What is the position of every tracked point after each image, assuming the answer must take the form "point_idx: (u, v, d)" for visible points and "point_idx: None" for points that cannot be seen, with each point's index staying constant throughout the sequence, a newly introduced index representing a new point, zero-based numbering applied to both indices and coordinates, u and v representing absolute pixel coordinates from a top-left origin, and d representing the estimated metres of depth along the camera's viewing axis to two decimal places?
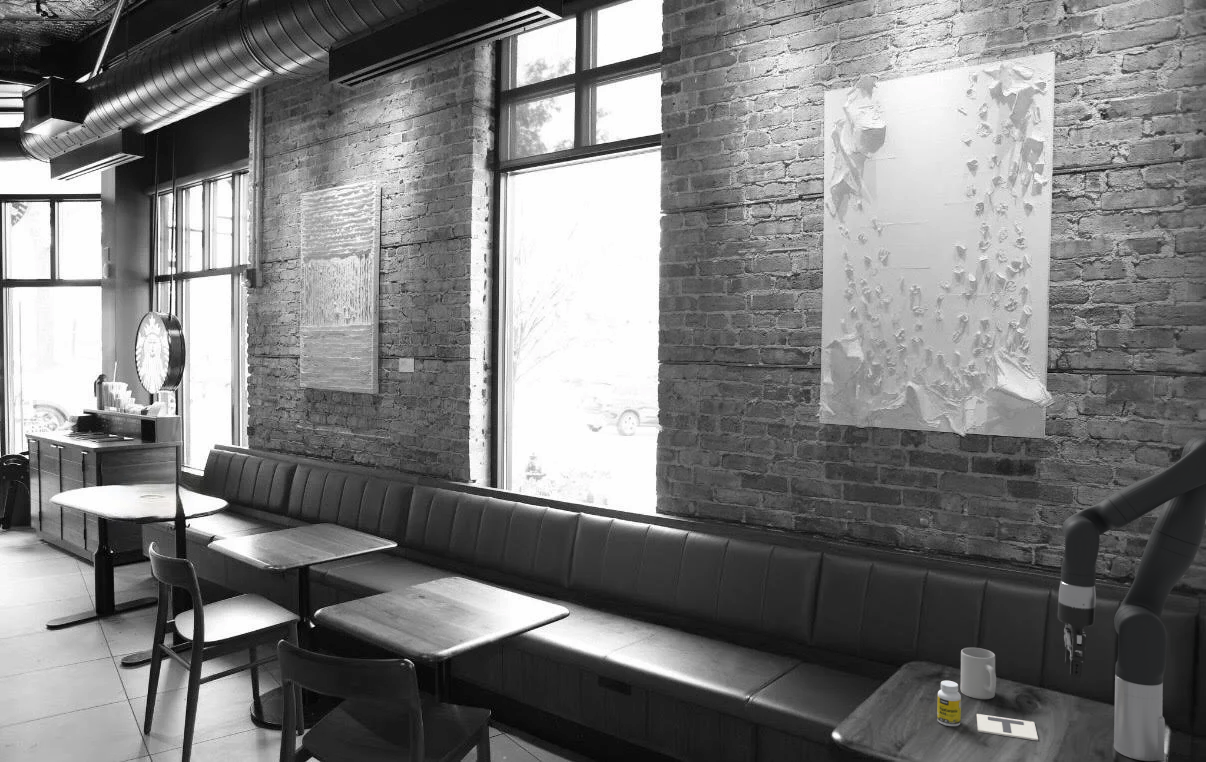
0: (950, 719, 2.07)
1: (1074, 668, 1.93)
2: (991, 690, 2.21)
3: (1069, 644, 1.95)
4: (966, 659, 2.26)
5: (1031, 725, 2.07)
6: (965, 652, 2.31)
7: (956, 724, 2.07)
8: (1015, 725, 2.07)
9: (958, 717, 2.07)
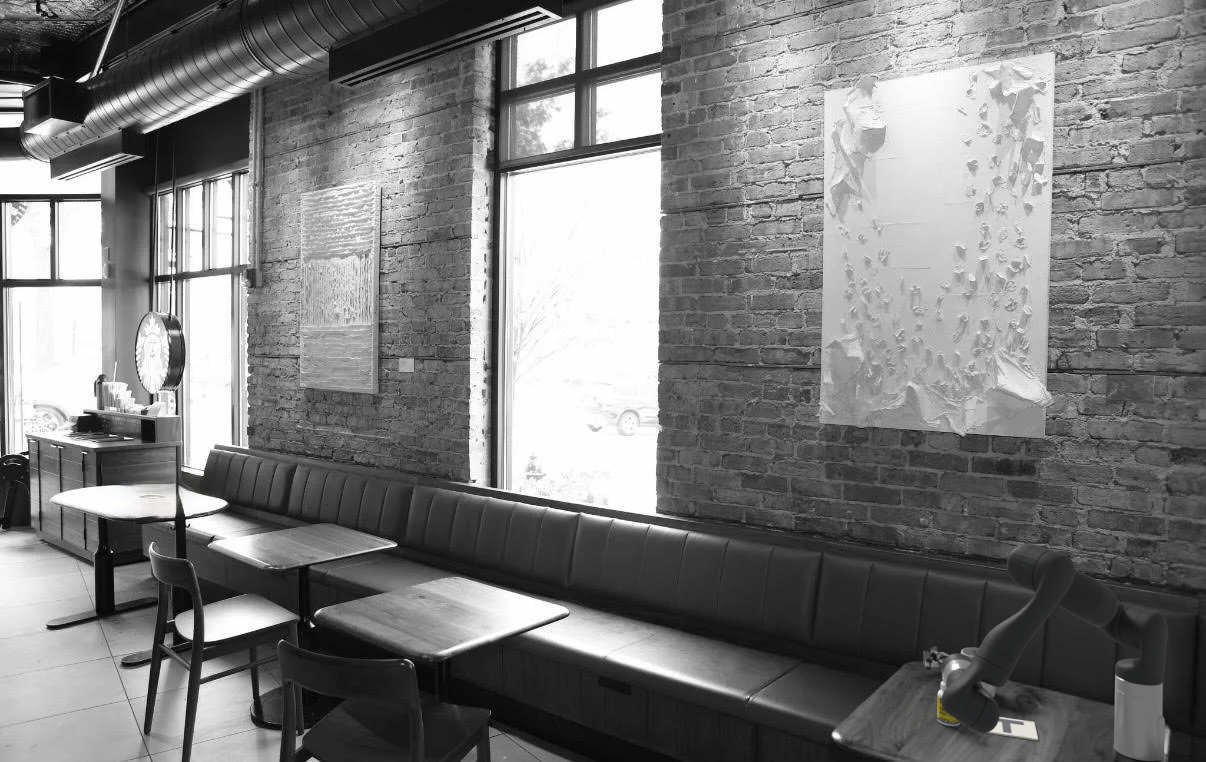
0: (950, 719, 2.07)
1: None
2: (991, 690, 2.21)
3: None
4: None
5: (1031, 725, 2.07)
6: (965, 652, 2.31)
7: (956, 724, 2.07)
8: (1015, 725, 2.07)
9: None
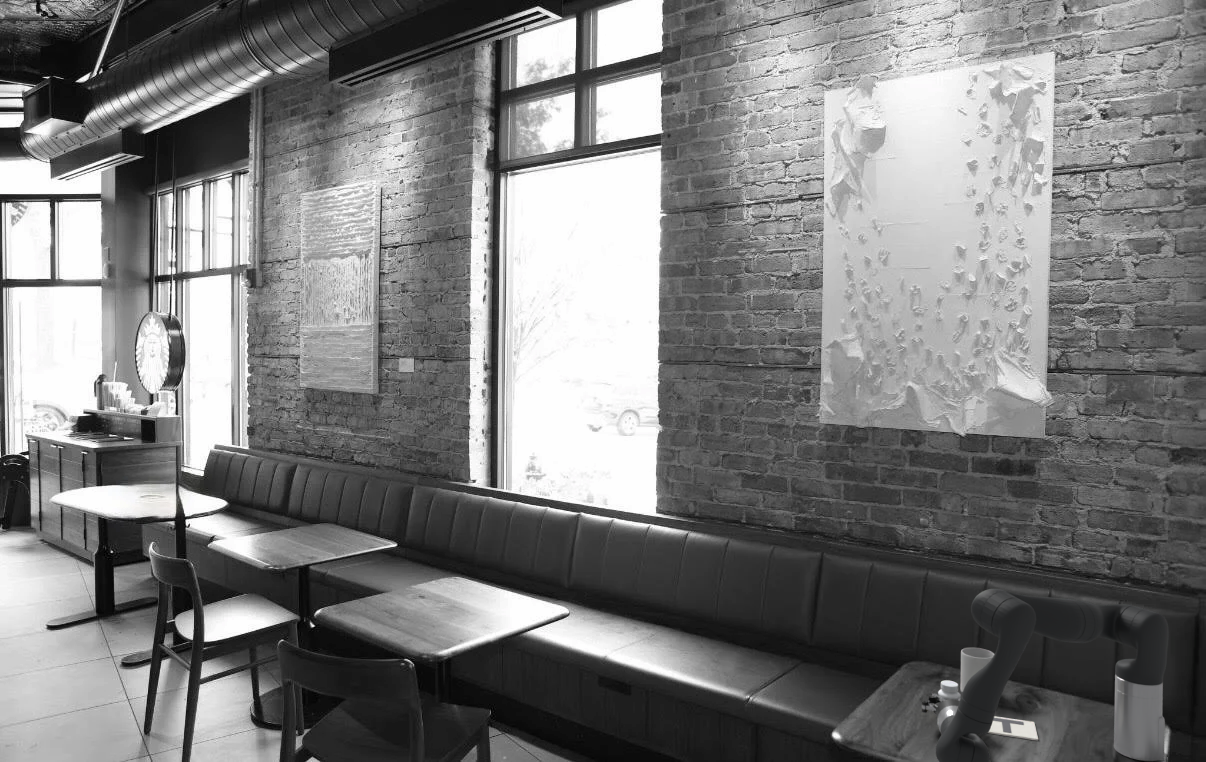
0: None
1: None
2: None
3: None
4: (966, 659, 2.26)
5: (1031, 725, 2.07)
6: (965, 652, 2.31)
7: None
8: (1015, 725, 2.07)
9: None
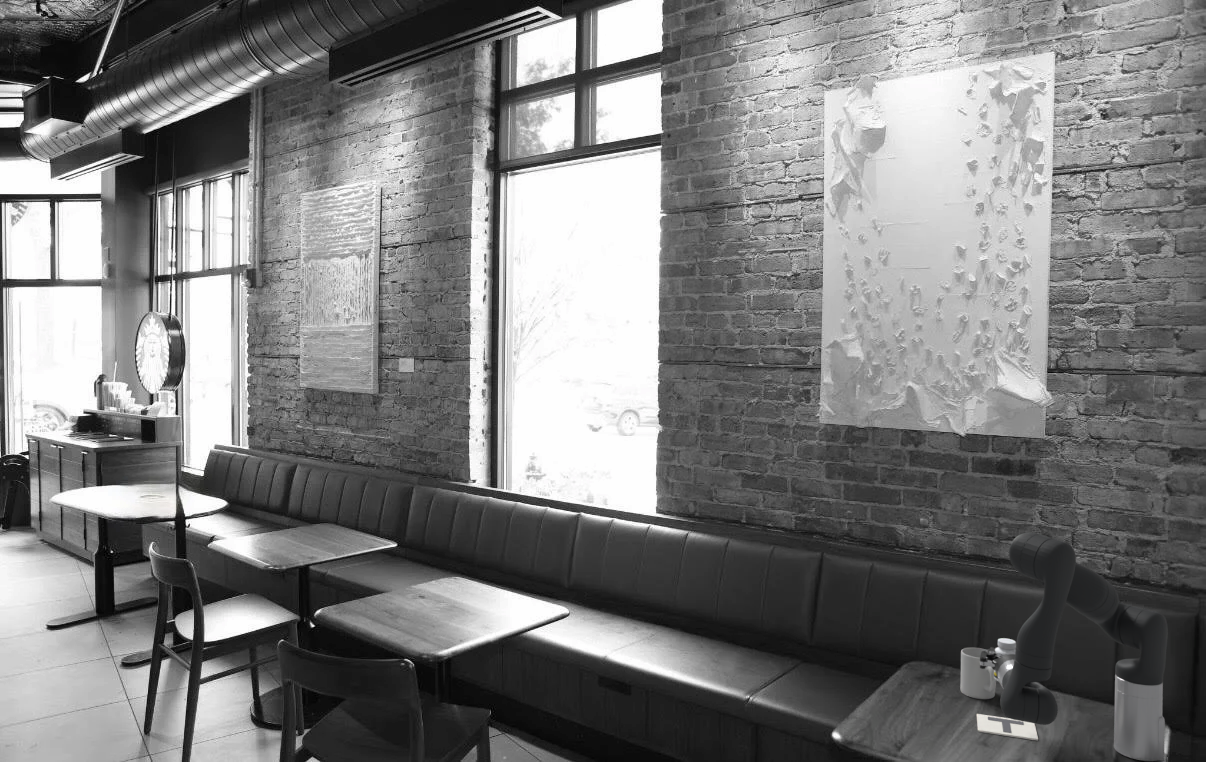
0: None
1: None
2: (991, 690, 2.21)
3: None
4: (966, 659, 2.26)
5: (1031, 725, 2.07)
6: (965, 652, 2.31)
7: None
8: (1015, 725, 2.07)
9: None
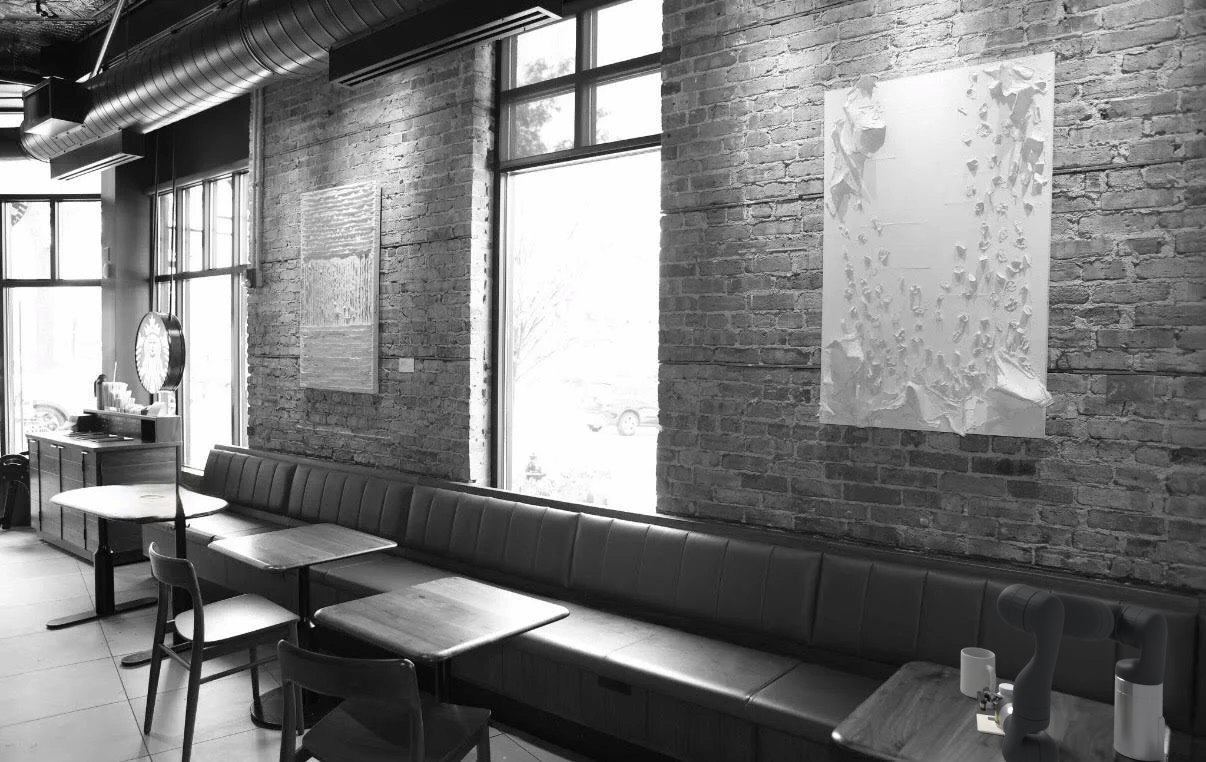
0: None
1: None
2: (991, 690, 2.21)
3: None
4: (966, 659, 2.26)
5: None
6: (965, 652, 2.31)
7: None
8: None
9: None
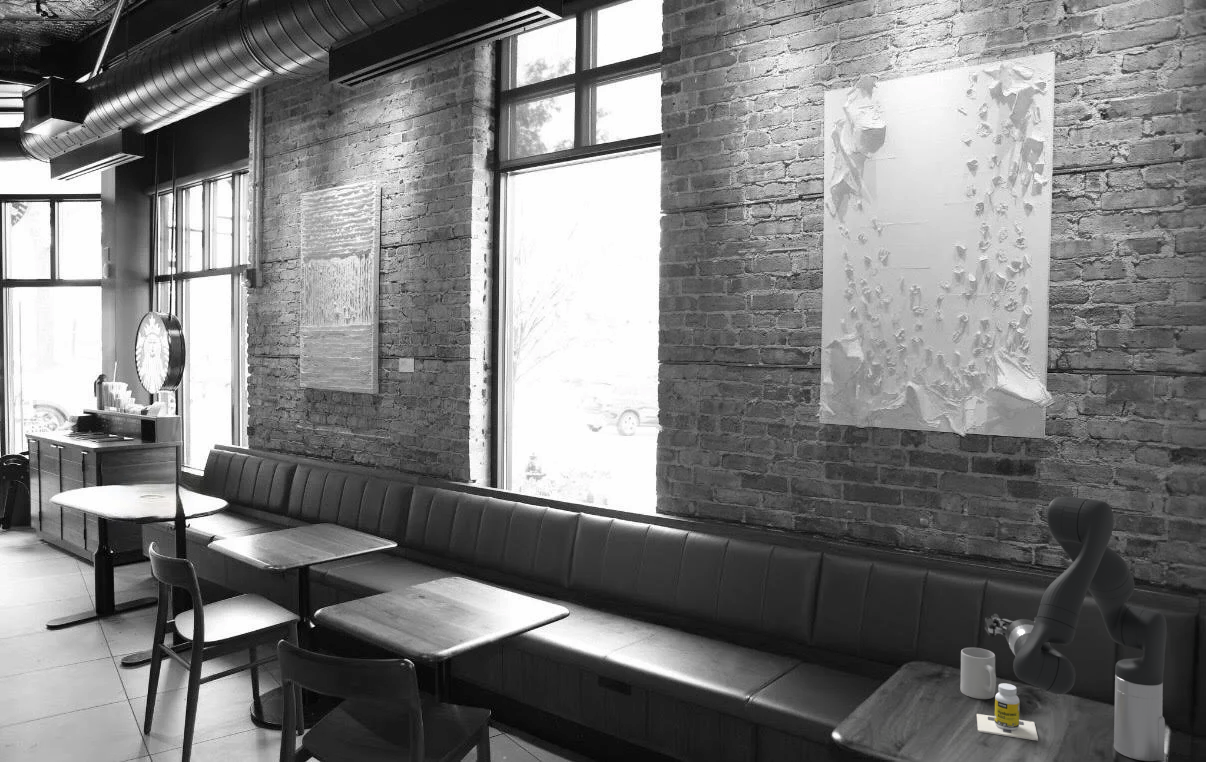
0: (1009, 723, 2.04)
1: None
2: (991, 690, 2.21)
3: None
4: (966, 659, 2.26)
5: (1031, 725, 2.07)
6: (965, 652, 2.31)
7: (1015, 728, 2.04)
8: None
9: (1017, 720, 2.04)
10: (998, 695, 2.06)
